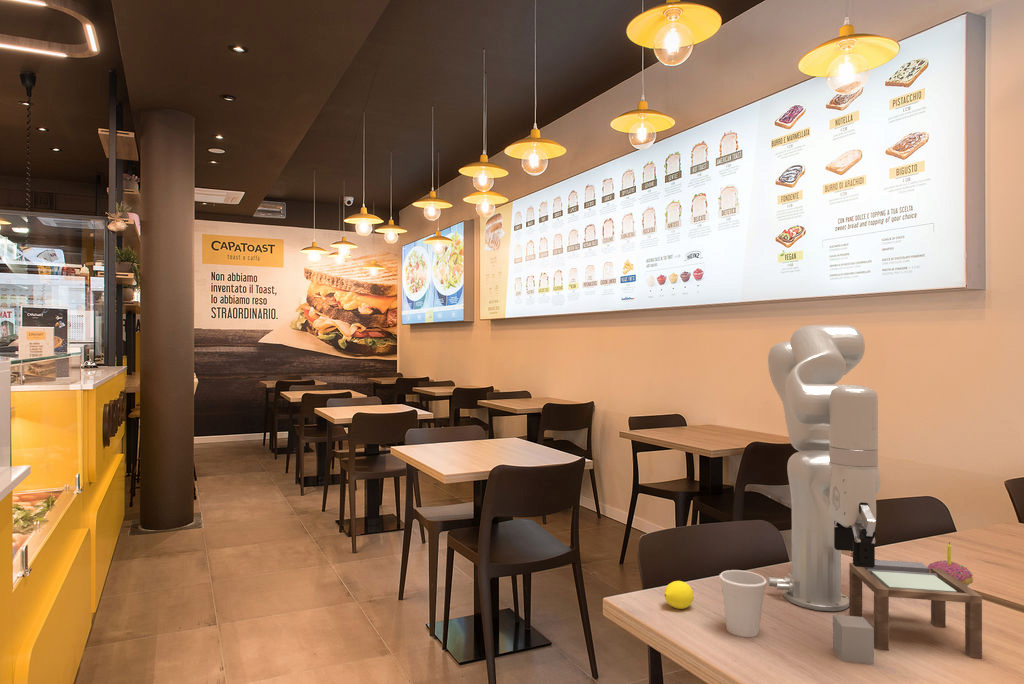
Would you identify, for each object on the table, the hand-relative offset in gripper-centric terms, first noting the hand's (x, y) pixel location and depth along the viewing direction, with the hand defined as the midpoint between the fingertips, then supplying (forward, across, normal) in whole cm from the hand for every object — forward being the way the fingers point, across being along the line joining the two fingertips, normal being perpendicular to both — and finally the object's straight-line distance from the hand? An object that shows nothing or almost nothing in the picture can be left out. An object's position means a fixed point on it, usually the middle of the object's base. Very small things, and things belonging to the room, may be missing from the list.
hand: (853, 557), depth 112 cm
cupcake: (+17, -37, +31) cm, 51 cm away
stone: (+17, -1, 0) cm, 17 cm away
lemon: (+17, -17, -28) cm, 37 cm away
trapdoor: (+9, -14, +14) cm, 21 cm away
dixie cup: (+17, -8, -17) cm, 25 cm away
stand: (+17, -12, +14) cm, 24 cm away
